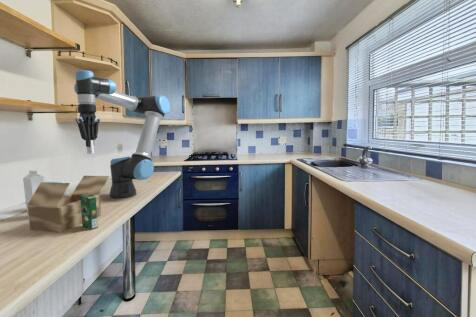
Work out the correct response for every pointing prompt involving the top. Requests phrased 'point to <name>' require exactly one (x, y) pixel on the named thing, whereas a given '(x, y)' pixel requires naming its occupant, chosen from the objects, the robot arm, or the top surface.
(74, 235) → the top surface
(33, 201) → the flap
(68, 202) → the carton
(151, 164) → the robot arm
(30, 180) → the milk
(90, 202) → the coffee box
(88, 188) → the flap
